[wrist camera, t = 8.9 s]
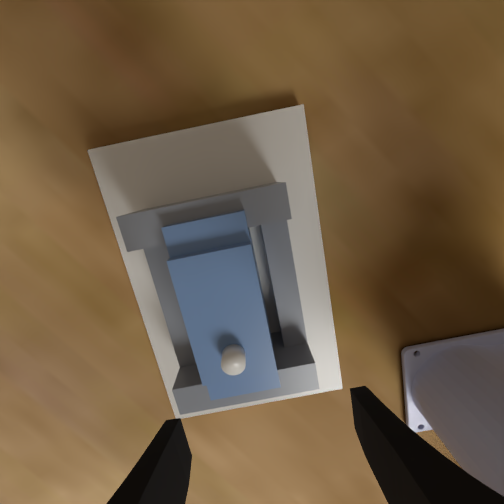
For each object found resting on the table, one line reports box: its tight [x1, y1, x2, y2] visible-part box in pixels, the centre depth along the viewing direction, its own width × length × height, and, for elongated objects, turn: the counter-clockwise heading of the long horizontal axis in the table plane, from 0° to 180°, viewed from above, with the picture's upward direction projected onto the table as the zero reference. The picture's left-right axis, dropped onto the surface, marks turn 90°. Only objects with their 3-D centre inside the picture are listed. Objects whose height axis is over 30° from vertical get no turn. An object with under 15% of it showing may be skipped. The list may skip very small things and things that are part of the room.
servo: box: [161, 210, 281, 400], centre depth 16 cm, size 4×10×6 cm, turn 11°
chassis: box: [87, 104, 343, 419], centre depth 17 cm, size 13×20×5 cm, turn 11°
